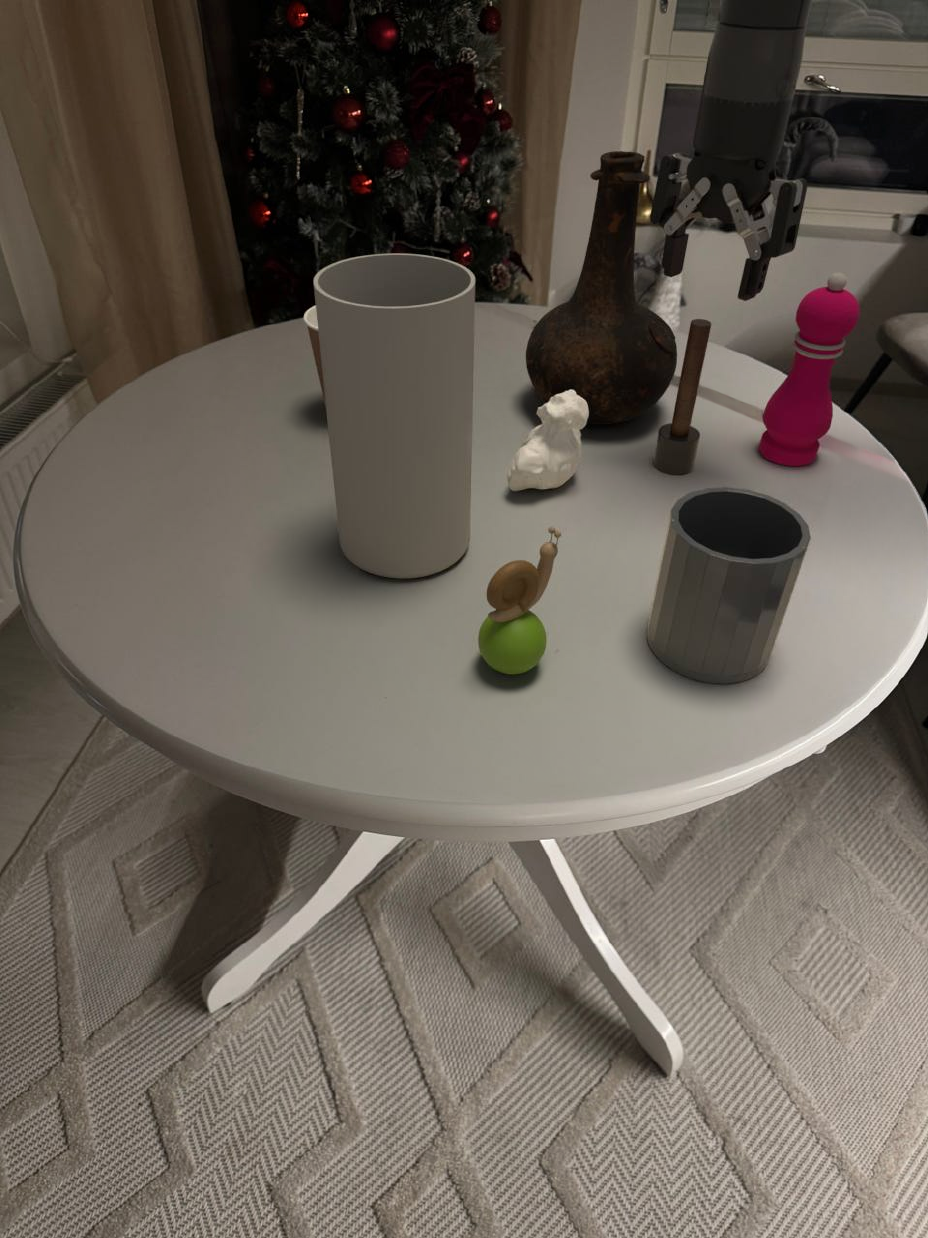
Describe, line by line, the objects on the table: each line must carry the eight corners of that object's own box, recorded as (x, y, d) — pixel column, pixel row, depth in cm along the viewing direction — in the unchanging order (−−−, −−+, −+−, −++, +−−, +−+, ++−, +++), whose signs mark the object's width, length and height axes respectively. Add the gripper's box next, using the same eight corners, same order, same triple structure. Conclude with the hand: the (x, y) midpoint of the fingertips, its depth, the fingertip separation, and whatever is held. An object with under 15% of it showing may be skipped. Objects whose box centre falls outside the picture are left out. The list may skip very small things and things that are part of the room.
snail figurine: (566, 666, 69) (582, 545, 61) (504, 698, 66) (512, 575, 58) (525, 630, 72) (534, 511, 64) (464, 659, 69) (466, 538, 61)
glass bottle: (632, 457, 95) (677, 185, 77) (495, 416, 102) (506, 158, 84) (688, 398, 107) (738, 150, 88) (561, 365, 114) (584, 129, 96)
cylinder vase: (496, 544, 82) (508, 280, 65) (398, 600, 75) (385, 321, 59) (410, 494, 88) (402, 243, 72) (314, 541, 82) (281, 276, 65)
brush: (669, 450, 96) (695, 310, 86) (701, 465, 94) (732, 323, 83) (645, 463, 94) (669, 321, 84) (677, 479, 91) (706, 334, 81)
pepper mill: (811, 475, 92) (871, 290, 80) (746, 458, 95) (793, 276, 82) (825, 447, 97) (884, 269, 84) (763, 432, 100) (810, 256, 87)
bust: (520, 523, 88) (589, 466, 80) (472, 468, 88) (536, 405, 79) (570, 473, 96) (638, 417, 88) (526, 423, 96) (590, 361, 87)
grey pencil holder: (693, 589, 77) (721, 473, 69) (793, 645, 71) (836, 526, 63) (622, 638, 71) (643, 519, 64) (723, 703, 66) (761, 581, 58)
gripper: (849, 97, 69) (794, 297, 79) (703, 74, 77) (671, 259, 87) (800, 107, 65) (750, 316, 75) (652, 82, 73) (625, 275, 83)
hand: (708, 286), depth 81 cm, fingers open, 8 cm apart
